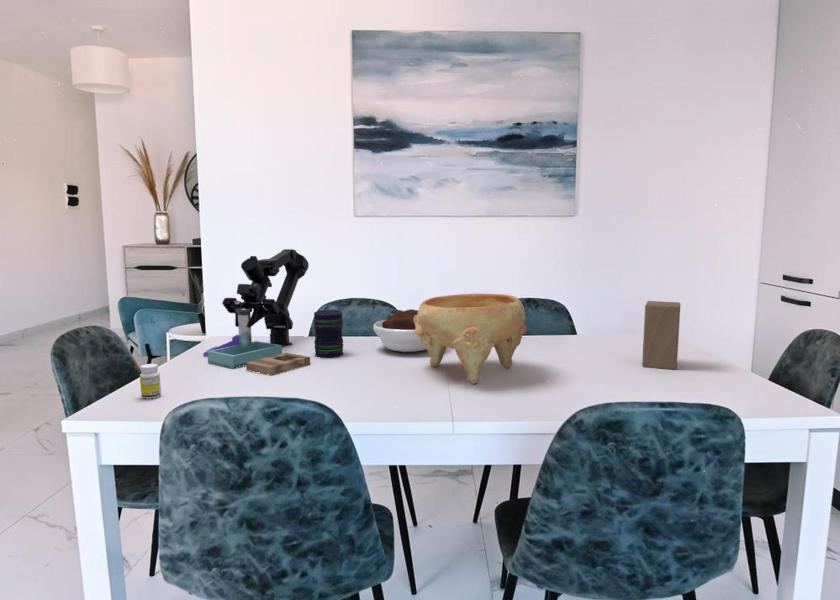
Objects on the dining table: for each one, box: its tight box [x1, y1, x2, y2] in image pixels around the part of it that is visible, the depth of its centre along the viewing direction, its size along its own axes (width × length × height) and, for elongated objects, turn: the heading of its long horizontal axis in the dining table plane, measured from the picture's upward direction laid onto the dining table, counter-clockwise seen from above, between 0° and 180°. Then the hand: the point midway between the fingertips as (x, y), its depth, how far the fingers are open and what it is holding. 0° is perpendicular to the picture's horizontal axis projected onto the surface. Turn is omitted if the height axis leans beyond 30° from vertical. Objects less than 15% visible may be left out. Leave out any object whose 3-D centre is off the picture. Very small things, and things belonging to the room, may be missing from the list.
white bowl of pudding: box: [373, 308, 427, 353], centre depth 205 cm, size 25×25×15 cm
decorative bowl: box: [414, 293, 528, 385], centre depth 175 cm, size 34×35×23 cm
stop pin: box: [236, 307, 253, 348], centre depth 190 cm, size 5×5×13 cm
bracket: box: [202, 334, 239, 358], centre depth 199 cm, size 12×7×7 cm, turn 93°
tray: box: [207, 340, 283, 369], centre depth 191 cm, size 20×13×4 cm, turn 146°
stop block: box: [245, 352, 311, 376], centre depth 181 cm, size 16×11×2 cm, turn 146°
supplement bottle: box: [139, 363, 162, 400], centre depth 150 cm, size 5×5×8 cm
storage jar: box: [313, 309, 344, 359], centre depth 197 cm, size 10×10×15 cm
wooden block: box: [641, 300, 681, 371], centre depth 182 cm, size 10×10×20 cm
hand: (242, 326), depth 189 cm, fingers closed on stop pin, 4 cm apart
